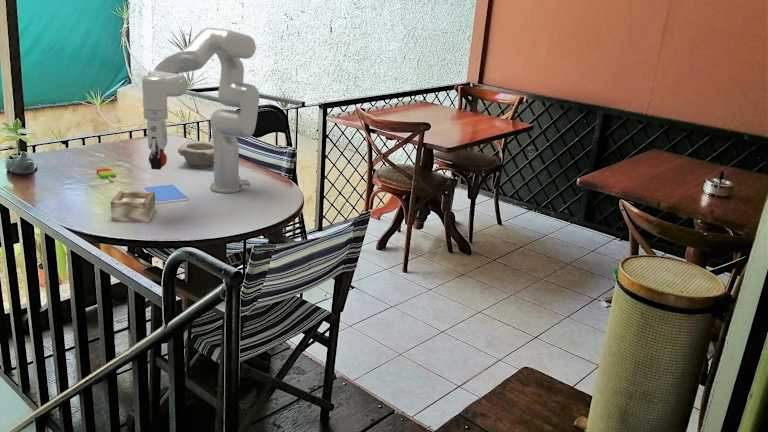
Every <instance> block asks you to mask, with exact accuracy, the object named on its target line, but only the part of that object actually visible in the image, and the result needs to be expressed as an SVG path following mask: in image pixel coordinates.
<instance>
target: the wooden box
mask: <svg viewBox="0 0 768 432" xmlns="http://www.w3.org/2000/svg"><path fill="white" fill-rule="evenodd" d="M110 212H111V221H113V222H139V223H142V222H143V223H145V222H147V223H148V222H150V220H151V218H152V217H153V215H154V214H155V212H156V203H155V192H144V191H134V190H132V191H131V190H119V191H118V192H117V194H116V195H115V196H114V197H113V198H112V200H111V201H110Z"/></svg>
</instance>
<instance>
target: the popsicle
mask: <svg viewBox="0 0 768 432" xmlns="http://www.w3.org/2000/svg"><path fill="white" fill-rule="evenodd" d="M96 174H97V176H98V177H99V178H100V179H101V180H105V179H108V180H109V181H110V182H111V183H112V182H114V179H115V178H117V175H116V174H115V172H113V170H112V169H110V168H101V169H96Z"/></svg>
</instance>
